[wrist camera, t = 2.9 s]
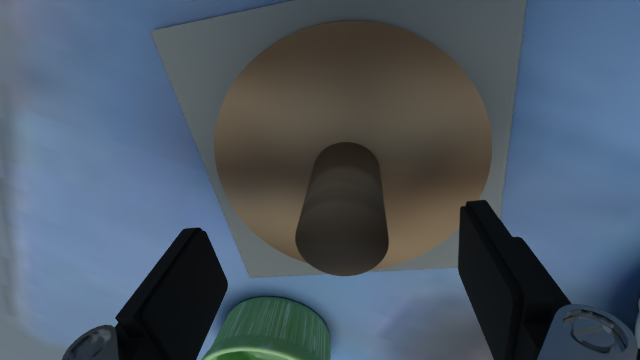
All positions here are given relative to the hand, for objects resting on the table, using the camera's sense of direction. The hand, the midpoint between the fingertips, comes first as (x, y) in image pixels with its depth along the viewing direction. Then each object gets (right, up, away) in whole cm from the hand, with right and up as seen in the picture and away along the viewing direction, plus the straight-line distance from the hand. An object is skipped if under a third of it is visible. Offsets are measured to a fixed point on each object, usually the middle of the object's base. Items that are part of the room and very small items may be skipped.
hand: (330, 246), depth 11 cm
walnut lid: (+1, +3, +4) cm, 5 cm away
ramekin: (-4, -9, +13) cm, 16 cm away
